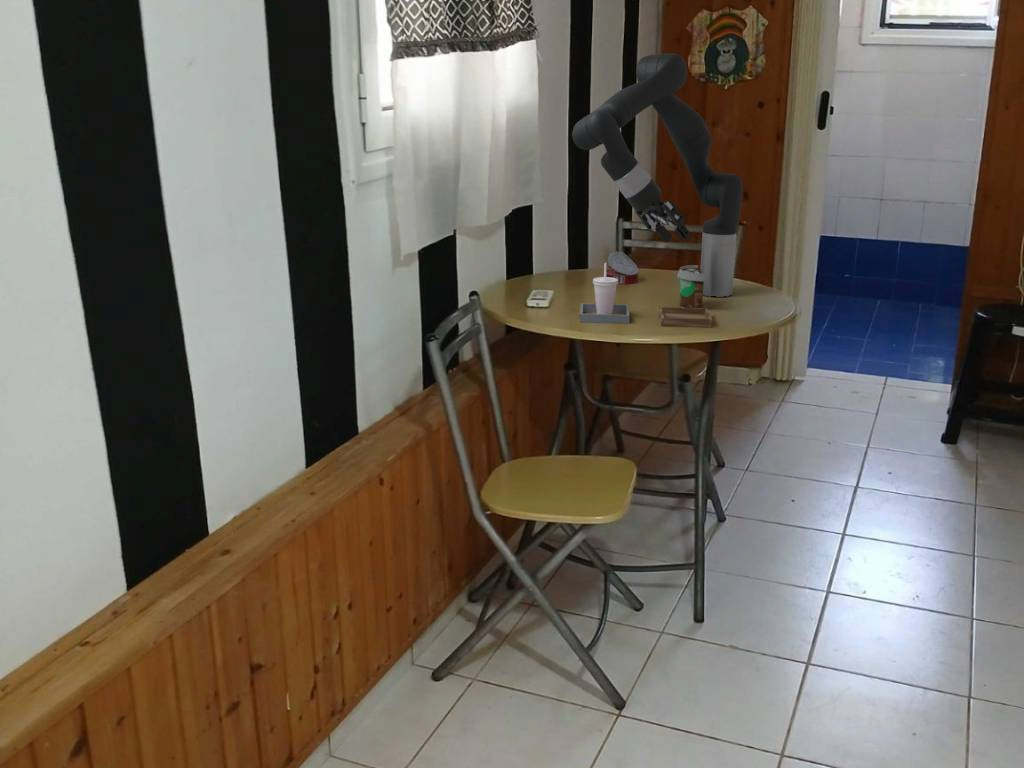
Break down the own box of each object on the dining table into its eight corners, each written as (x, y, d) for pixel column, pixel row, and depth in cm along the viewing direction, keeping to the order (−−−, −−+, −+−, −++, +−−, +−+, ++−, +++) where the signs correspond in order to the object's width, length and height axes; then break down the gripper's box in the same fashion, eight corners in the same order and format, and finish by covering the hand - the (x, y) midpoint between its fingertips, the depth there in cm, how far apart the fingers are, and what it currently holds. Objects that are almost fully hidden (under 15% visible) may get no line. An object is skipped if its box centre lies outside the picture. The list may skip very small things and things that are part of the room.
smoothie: (588, 318, 263) (590, 263, 259) (595, 313, 269) (597, 259, 264) (613, 320, 261) (615, 265, 257) (619, 315, 267) (621, 261, 262)
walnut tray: (658, 314, 268) (659, 307, 267) (706, 315, 267) (707, 308, 266) (661, 326, 256) (661, 318, 255) (711, 327, 255) (712, 319, 254)
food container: (673, 300, 283) (674, 264, 280) (695, 301, 283) (698, 264, 280) (678, 311, 271) (680, 273, 269) (702, 311, 271) (704, 273, 268)
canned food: (628, 294, 314) (645, 264, 312) (631, 297, 304) (648, 267, 302) (595, 275, 313) (612, 246, 311) (597, 278, 303) (614, 248, 301)
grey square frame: (580, 310, 271) (580, 303, 270) (627, 312, 270) (628, 304, 269) (579, 322, 259) (579, 314, 259) (629, 323, 258) (629, 315, 258)
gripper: (663, 171, 236) (704, 226, 241) (632, 179, 249) (672, 230, 254) (641, 193, 234) (683, 248, 239) (612, 199, 247) (652, 251, 252)
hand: (678, 238), depth 247 cm, fingers open, 8 cm apart
